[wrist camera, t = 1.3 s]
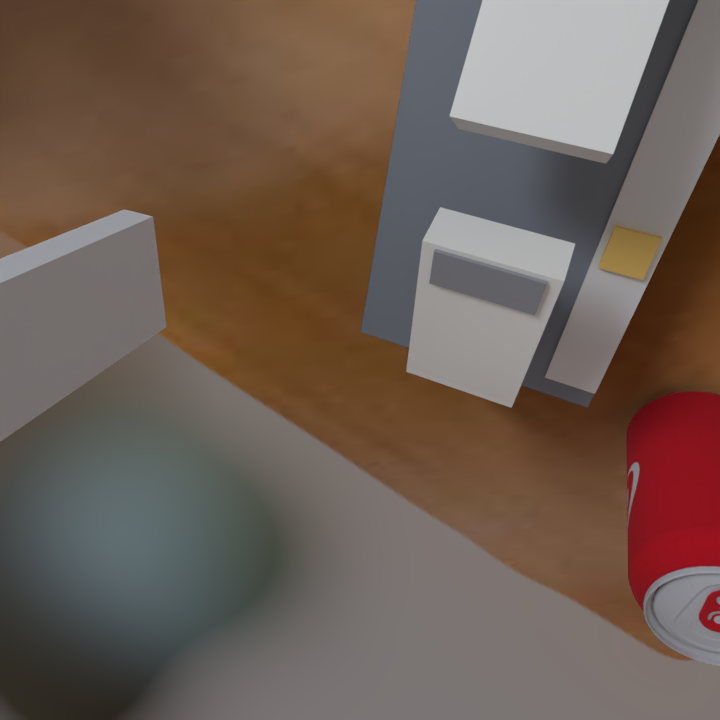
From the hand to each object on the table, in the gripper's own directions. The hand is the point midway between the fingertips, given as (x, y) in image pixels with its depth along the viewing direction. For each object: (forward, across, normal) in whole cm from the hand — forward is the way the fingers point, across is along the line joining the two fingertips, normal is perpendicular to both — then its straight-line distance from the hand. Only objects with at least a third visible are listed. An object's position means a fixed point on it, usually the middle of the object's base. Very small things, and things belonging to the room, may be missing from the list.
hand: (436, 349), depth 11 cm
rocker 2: (+12, -1, -5) cm, 13 cm away
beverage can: (+20, +11, -13) cm, 26 cm away
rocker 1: (+12, 0, +6) cm, 13 cm away
